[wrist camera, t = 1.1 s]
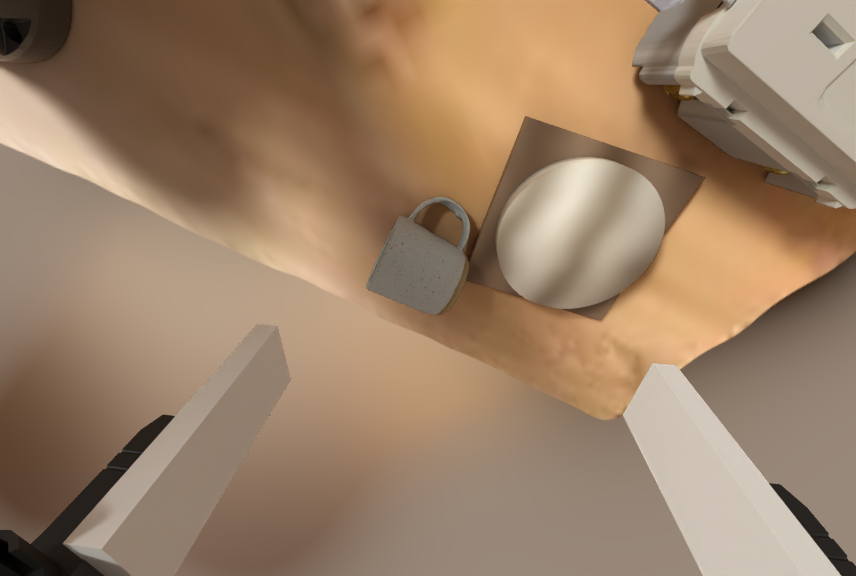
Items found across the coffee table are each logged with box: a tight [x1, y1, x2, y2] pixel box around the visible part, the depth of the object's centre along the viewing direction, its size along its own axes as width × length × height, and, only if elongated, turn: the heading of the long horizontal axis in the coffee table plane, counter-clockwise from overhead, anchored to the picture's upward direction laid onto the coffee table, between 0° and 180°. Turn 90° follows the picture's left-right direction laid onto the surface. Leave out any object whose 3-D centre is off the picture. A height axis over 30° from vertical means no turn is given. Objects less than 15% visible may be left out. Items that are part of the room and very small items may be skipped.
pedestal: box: [466, 116, 705, 320], centre depth 30 cm, size 16×16×4 cm
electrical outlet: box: [632, 0, 856, 209], centre depth 20 cm, size 12×28×10 cm, turn 61°
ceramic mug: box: [366, 197, 470, 315], centre depth 31 cm, size 11×8×8 cm
